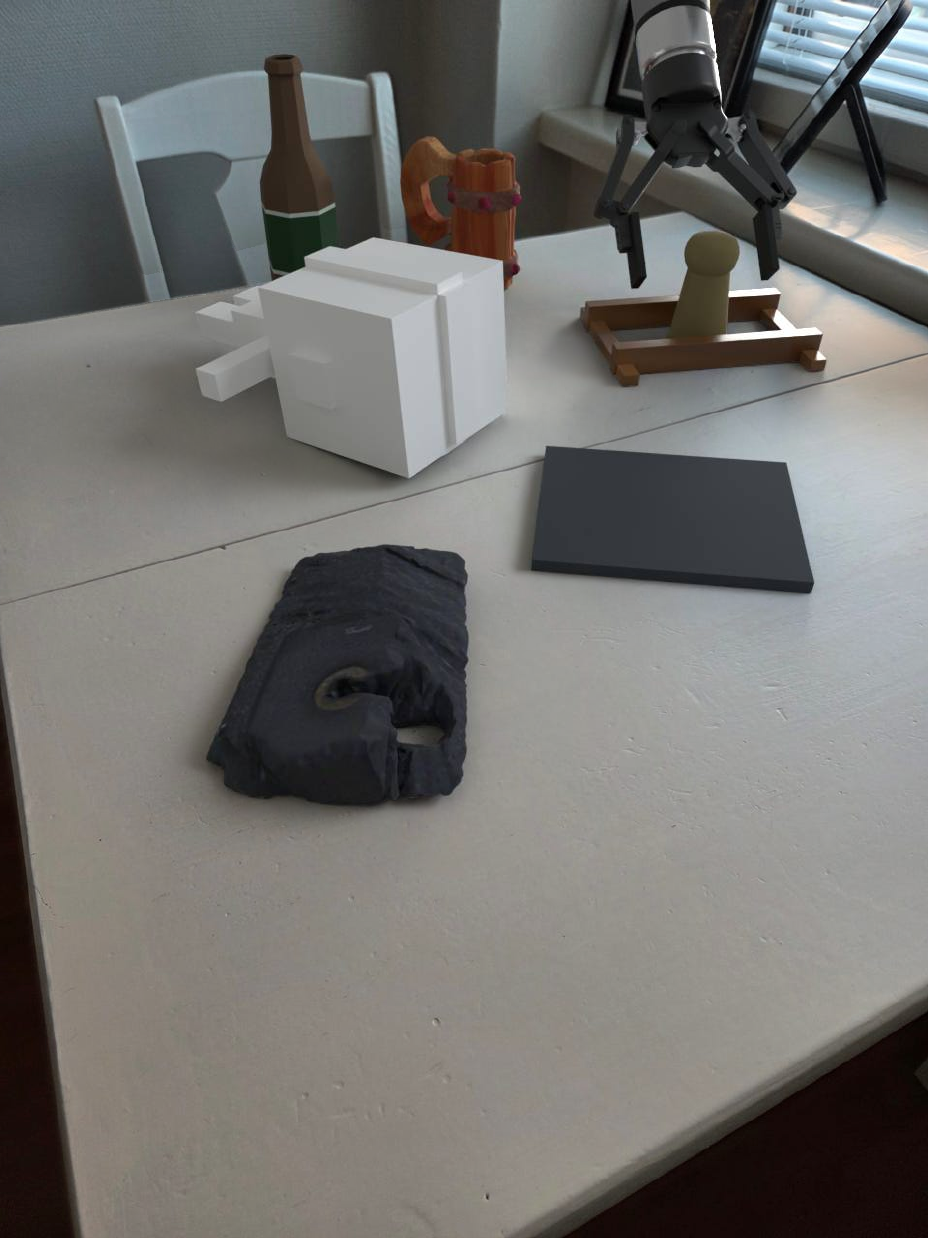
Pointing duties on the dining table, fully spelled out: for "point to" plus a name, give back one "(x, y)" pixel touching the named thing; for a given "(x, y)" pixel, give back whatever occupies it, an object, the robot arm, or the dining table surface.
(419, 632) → the folded black garment
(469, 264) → the white voxel figure
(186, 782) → the dining table surface
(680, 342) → the rack
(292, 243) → the beer bottle
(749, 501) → the mat
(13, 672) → the dining table surface
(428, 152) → the mug
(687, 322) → the olive pawn
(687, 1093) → the dining table surface
